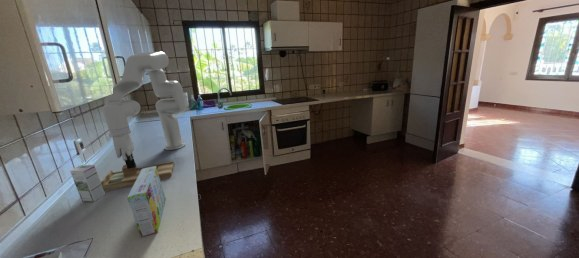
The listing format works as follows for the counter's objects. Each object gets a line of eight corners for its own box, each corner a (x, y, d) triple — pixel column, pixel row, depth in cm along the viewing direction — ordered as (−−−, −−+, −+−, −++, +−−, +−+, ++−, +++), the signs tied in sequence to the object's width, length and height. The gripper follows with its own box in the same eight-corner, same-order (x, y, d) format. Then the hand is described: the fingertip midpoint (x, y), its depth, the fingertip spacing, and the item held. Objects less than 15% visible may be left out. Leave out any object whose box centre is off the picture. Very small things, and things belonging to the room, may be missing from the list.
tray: (113, 177, 116) (110, 170, 115) (174, 165, 125) (172, 158, 124) (102, 191, 104) (99, 183, 103) (171, 177, 113) (169, 169, 111)
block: (125, 172, 117) (123, 165, 115) (137, 169, 119) (135, 162, 117) (124, 176, 112) (121, 168, 111) (136, 173, 114) (134, 166, 113)
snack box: (150, 202, 93) (141, 168, 88) (166, 198, 95) (157, 164, 90) (139, 238, 74) (126, 196, 69) (158, 232, 76) (147, 192, 71)
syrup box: (105, 194, 101) (95, 163, 97) (93, 202, 96) (82, 170, 91) (93, 194, 102) (83, 164, 98) (81, 202, 96) (69, 170, 92)
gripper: (115, 128, 111) (127, 162, 117) (104, 138, 98) (117, 176, 104) (133, 125, 114) (144, 159, 119) (125, 134, 100) (137, 172, 106)
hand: (131, 167), depth 112 cm, fingers closed
